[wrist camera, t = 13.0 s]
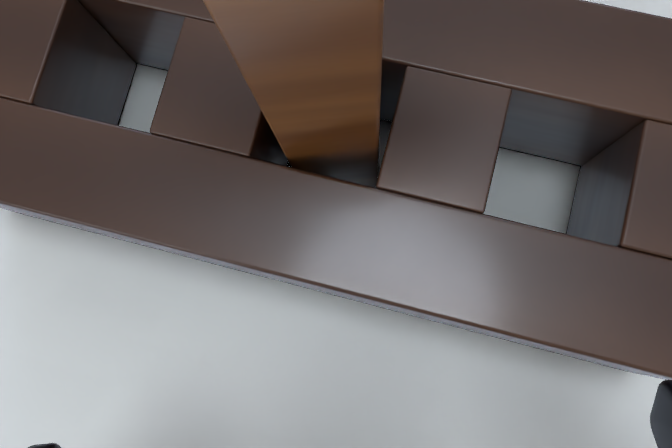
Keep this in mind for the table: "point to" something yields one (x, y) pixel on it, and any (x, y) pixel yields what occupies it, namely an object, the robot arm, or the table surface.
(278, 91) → the brown beam with peg
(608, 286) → the rack
